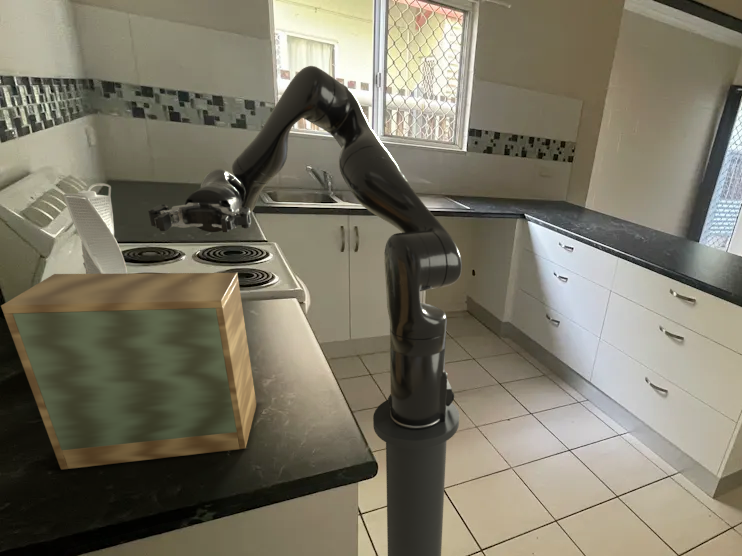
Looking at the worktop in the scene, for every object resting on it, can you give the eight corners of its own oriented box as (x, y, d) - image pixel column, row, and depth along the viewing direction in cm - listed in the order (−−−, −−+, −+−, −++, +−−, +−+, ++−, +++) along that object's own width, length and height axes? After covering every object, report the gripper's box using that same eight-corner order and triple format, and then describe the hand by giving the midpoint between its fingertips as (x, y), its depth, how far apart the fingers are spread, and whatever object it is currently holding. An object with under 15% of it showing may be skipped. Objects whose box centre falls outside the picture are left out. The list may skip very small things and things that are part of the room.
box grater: (139, 303, 113) (109, 180, 101) (142, 314, 107) (111, 186, 96) (93, 308, 108) (56, 180, 96) (93, 320, 102) (55, 186, 91)
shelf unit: (256, 404, 79) (237, 272, 70) (245, 448, 69) (221, 300, 60) (98, 418, 72) (53, 273, 63) (60, 469, 62) (0, 305, 53)
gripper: (165, 184, 84) (133, 198, 70) (254, 188, 89) (241, 202, 75) (173, 226, 87) (144, 248, 73) (259, 228, 92) (247, 249, 78)
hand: (193, 225), depth 74 cm, fingers open, 8 cm apart
